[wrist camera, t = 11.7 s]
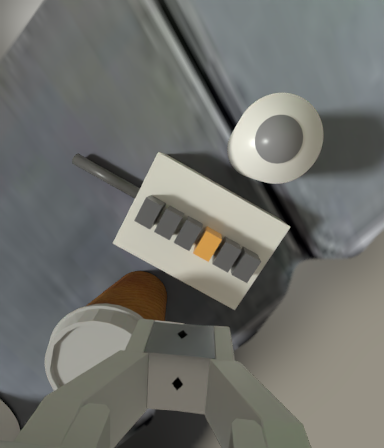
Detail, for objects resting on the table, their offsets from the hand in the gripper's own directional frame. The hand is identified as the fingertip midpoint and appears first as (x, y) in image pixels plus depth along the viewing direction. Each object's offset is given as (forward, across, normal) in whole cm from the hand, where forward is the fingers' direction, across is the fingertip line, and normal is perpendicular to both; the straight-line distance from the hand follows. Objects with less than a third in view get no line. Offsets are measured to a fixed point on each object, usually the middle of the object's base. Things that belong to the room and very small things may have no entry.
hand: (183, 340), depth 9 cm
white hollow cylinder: (+20, -5, -8) cm, 23 cm away
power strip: (+21, +3, -1) cm, 21 cm away
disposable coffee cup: (+21, +6, +10) cm, 24 cm away
